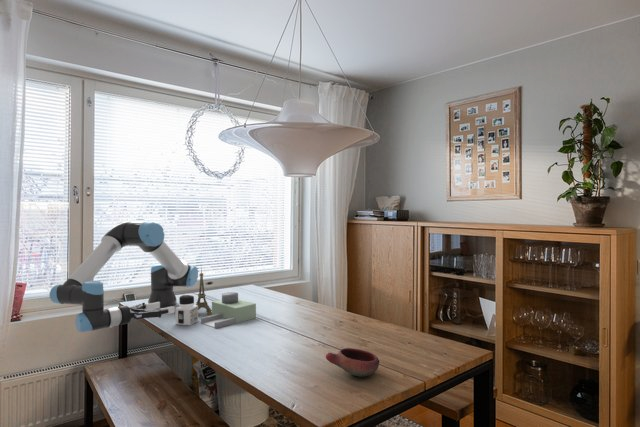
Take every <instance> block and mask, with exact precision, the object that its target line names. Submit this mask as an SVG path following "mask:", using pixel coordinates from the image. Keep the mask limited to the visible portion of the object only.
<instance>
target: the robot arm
mask: <svg viewBox="0 0 640 427" xmlns="http://www.w3.org/2000/svg"><path fill="white" fill-rule="evenodd" d="M128 246H129V247H133V246H134V247H135V246H136V247H138V248H140V249H141V250H142V251H143V252H144V253H149V254H150V255H151V256H153V257H154V259H155V260H156V261H157V262H159V263H158V264H157V263H156V264H153V265H152V266H151V267H150V295H149V297H148V301H147V303H145V302H142V303H139V304H136V305H132V306H130V307H129V306H128V305H121V306H118V307H117V306H114V307H110V308H105V309H104V307H105V306H104V305H105V304H104V303H105V302H104V300H105V298H104V297H105V296H104V294H105V290H104V282H103V281H101V280H93V279H94V278H95V277H96V276H97V275H98V273H99V272H100V271H101V270H102V268H103V267H104V266H105V265H106V264H107V263H108V262H109V260H110V259H111V258H112V257H113V255H115V253H118V252H120V251H121V250H122V248H124V247H128ZM198 278H199V270H198V267H197V266H196V265H189V263H188V262H187V261H186V260H183V259H180V257H178V256H177V254H176V253H175V252H174V251H173V249H171V247H170V246H169V245H168V244H167V243H166V242H165V232H164V228H163V226H162V225H161V224H160V223H159V222H157V221H151V220H144V221H143V220H141V221H132V220H130V221H129V220H128V221H123V222H121V223H119V224H117V225H115V226H113V227H112V228H111V229H110V230H108V231H107V232H106V233H105V235H103V237H101V240H100V243H98V245H97V246H96V247H95V248H94V249H93V251H91V253H90V254H89V255H88V256H87V257H86V258H85V260H84V261H83V262H82V263H80V265H79V266H78V267H77V268H76V269H75V270H74V272H73V273H72V274H71V275H70V276H69V277H68V278H67V279H66V280H65V281H64V282H63V284H56V285H54V286H52V288H51V289H50V291H49V299H50V301H51V302H52V303H54V304H58V305H79V306H80V305H81V307H82V309H81V310H82V311H81V312H80V313H77V314H76V316H75V323H74V324H75V328H76V330H77V331H78V332H79V333H86V332H92V331H97V330H101V329H106V328H110V329H113V327H116V326H119V325H121V326H122V325H126V324H129V323H130V322H131V321H132V319H134V320H135V319H136V320H141V319H151V318H160V319H161V318H162V316H164V315H169V314H174V313H175V305H176V304H177V303H178V302H177V297H176V294H175V291H174V287H179V288H180V287H182V288H192V287H194V286H196V284H197V282H198Z"/></svg>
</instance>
